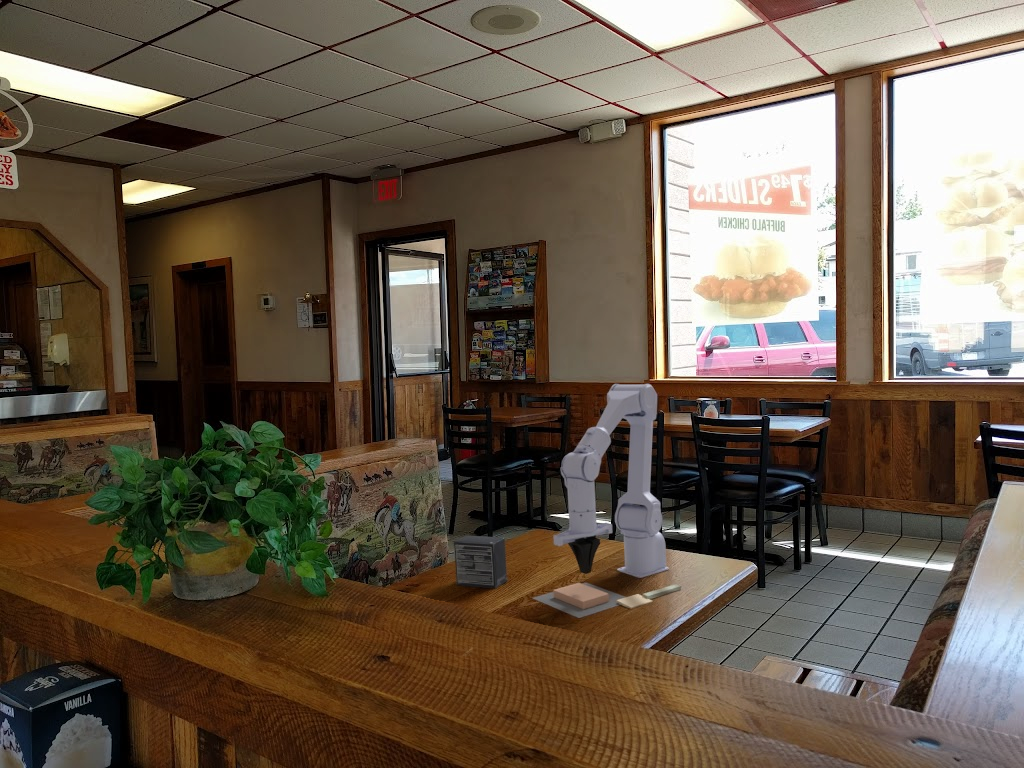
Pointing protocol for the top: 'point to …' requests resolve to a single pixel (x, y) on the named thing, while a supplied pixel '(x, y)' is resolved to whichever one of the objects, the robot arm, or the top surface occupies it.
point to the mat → (578, 611)
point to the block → (581, 595)
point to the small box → (480, 561)
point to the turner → (646, 597)
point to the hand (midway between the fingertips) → (585, 572)
